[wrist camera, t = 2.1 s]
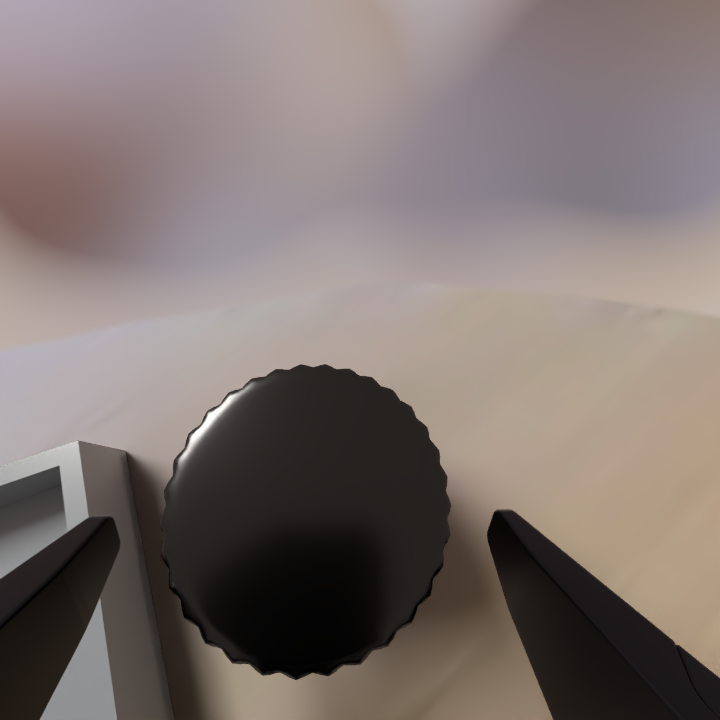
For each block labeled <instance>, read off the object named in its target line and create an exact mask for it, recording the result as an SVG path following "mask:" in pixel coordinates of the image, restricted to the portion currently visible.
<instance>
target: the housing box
mask: <svg viewBox="0 0 720 720" xmlns="http://www.w3.org/2000/svg"><path fill="white" fill-rule="evenodd" d="M94 515H111V516H112V517H114V519H115V523H116V526H117V529H118V533H119V536H120V540H121V545H120V550H119V553H118V555H117V557H116V560H115V562H114V565H113V567H112V570H111V572H110V574H109V577H108V579H107V582H106V584H105V587H104V589H103V591H102V594H101V596H100V599H99V601H98V604H97V606H96V608H95V611H94V613H93V616H92V618H91V620H90V622H89V625H88V627H87V629H86V631H85V633H84V635H83V637H82V639H81V641H80V643H79V645H78V647H77V649H76V651H75V653H74V655H73V657H72V659H71V661H70V663H69V665H68V666H67V668H66V670H65V672H64V674H63V676H62V678H61V680H60V682H59V684H58V686H57V688H56V690H55V691H54V693H53V695H52V697H51V699H50V701H49V703H48V705H47V707H46V709H45V711H44V713H43V715H42V716H41V718H40V720H174V715H173V709H172V704H171V698H170V693H169V687H168V682H167V676H166V671H165V665H164V660H163V654H162V649H161V644H160V638H159V633H158V627H157V622H156V616H155V611H154V605H153V600H152V594H151V589H150V583H149V578H148V572H147V567H146V561H145V556H144V550H143V545H142V539H141V534H140V528H139V523H138V517H137V512H136V506H135V501H134V495H133V490H132V484H131V479H130V473H129V468H128V462H127V457H126V451H124V450H119V449H115V448H110V447H105V446H101V445H96V444H91V443H87V442H82V441H75V442H72V443H69V444H66V445H63V446H60V447H57V448H54V449H51V450H48V451H45V452H42V453H39V454H36V455H33V456H30V457H27V458H24V459H21V460H18V461H15V462H12V463H9V464H6V465H3V466H0V579H1V578H2V577H3V576H5V575H6V574H8V573H9V572H11V571H12V570H13V569H15V568H16V567H18V566H19V565H21V564H22V563H23V562H25V561H26V560H28V559H29V558H31V557H32V556H33V555H35V554H36V553H38V552H39V551H41V550H42V549H43V548H45V547H46V546H48V545H49V544H51V543H52V542H54V541H55V540H56V539H58V538H59V537H61V536H62V535H64V534H65V533H66V532H68V531H69V530H71V529H72V528H74V527H75V526H76V525H78V524H79V523H81V522H82V521H84V520H85V519H87V518H88V517H90V516H94Z"/></svg>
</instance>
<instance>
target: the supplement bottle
mask: <svg viewBox="0 0 720 720" xmlns="http://www.w3.org/2000/svg"><path fill="white" fill-rule="evenodd" d="M446 487H447V475H446V473H445V472H444V470H443V468H442V467H441V465H440V453H439V450H438V448H437V447H436V446H435V445H434V444H433V443H432V441H431V440H430V438H429V432H428V429H427V427H426V426H425V425H424V424H423V423H422V422H421V421H419V420H418V419H417V418H416V416H415V413H414V411H413V409H412V407H411V406H409V405H408V404H406V403H404V402H402V401H400V400H399V398H398V396H397V395H396V393H395V392H394V391H393V390H391V389H389V388H385V387H382V386H380V385H379V384H378V383H377V381H375V380H374V379H373V378H372V377H367V376H359V375H357V374H356V373H355V372H354V371H352V370H351V369H334V368H332V367H331V366H328V365H326V364H325V365H320V366H316V367H310V366H306V365H298V366H296V367H294V368H292V369H290V370H283V369H276V370H274V371H272V372H271V373H270V374H268V375H267V376H266V377H258V378H253V379H251V380H250V381H249V382H248V383H246V385H245V386H244V387H243V388H242V389H239V390H234V391H232V392H229V393H228V394H227V395H226V397H225V398H224V399H223V401H222V403H221V404H220V405H218V406H216V407H213V408H212V409H210V410H208V411H207V413H206V415H205V416H204V418H203V421H202V423H201V425H200V426H198V427H197V428H195V429H194V430H192V431H191V432H190V433H189V434H188V437H187V440H186V444H185V448H184V449H183V450H182V451H181V453H180V454H179V455H178V456H177V457H176V458H175V460H174V463H173V476H172V478H171V479H170V481H169V482H168V484H167V486H166V488H165V490H164V498H165V501H166V507H165V509H164V512H163V514H162V517H161V520H160V526H161V530H162V532H163V534H164V542H163V546H162V552H161V556H162V558H163V560H164V562H165V564H166V565H167V567H168V568H169V588H170V590H171V591H172V592H173V593H174V594H175V595H177V596H178V598H179V599H180V600H181V607H182V612H183V616H184V618H185V619H186V620H188V621H189V622H190V623H192V624H194V625H196V626H198V628H199V630H200V633H201V636H202V638H203V640H204V642H205V644H208V645H210V646H213V647H218V648H221V649H222V650H223V652H224V653H225V655H226V656H227V658H228V659H229V660H230V661H231V662H232V663H234V664H250V665H251V666H252V667H253V668H254V669H255V670H256V671H257V672H259V673H260V674H261V675H263V676H264V675H272V674H274V673H280V672H281V673H282V674H284V675H286V676H288V677H290V678H292V679H295V680H297V679H300V678H302V677H305V676H307V675H309V674H311V673H316V674H319V675H325V676H330V675H331V674H333V673H334V672H336V671H337V670H338V669H339V668H340V667H342V666H343V665H359V664H361V663H362V662H363V661H364V660H365V659H366V658H367V657H368V655H369V654H370V653H371V652H372V651H373V650H377V649H381V648H384V647H387V646H389V644H390V643H391V641H392V640H393V638H394V636H395V634H396V632H397V631H398V630H399V629H401V628H403V627H405V626H407V625H409V624H410V623H412V621H413V619H414V616H415V614H416V611H417V608H418V605H420V604H421V603H422V602H424V601H425V600H426V599H427V598H428V597H429V596H430V594H431V590H432V582H433V578H434V577H435V576H436V575H437V574H438V573H439V571H440V570H441V568H442V567H443V561H444V557H443V549H444V546H445V545H446V543H447V542H448V539H449V537H450V531H449V526H448V521H447V518H448V515H449V513H450V508H451V503H450V500H449V498H448V495H447V493H446Z"/></svg>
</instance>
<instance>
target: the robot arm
mask: <svg viewBox="0 0 720 720" xmlns="http://www.w3.org/2000/svg"><path fill="white" fill-rule="evenodd" d="M487 539H488V544H489V547H490V550H491V553H492V557H493V560H494V563H495V567H496V570H497V573H498V576H499V580H500V583H501V586H502V590H503V593H504V596H505V599H506V602H507V605H508V608H509V611H510V613H511V616H512V619H513V621H514V624H515V626H516V629H517V631H518V634H519V636H520V638H521V641H522V643H523V646H524V648H525V651H526V653H527V656H528V658H529V661H530V663H531V666H532V668H533V671H534V673H535V676H536V678H537V680H538V683H539V685H540V688H541V690H542V693H543V695H544V698H545V700H546V703H547V705H548V708H549V710H550V713H551V715H552V718H553V720H720V678H719V677H718V676H717V675H715V674H714V673H713V672H712V671H710V670H709V669H708V668H707V667H705V666H704V665H703V664H702V663H700V662H699V661H698V660H697V659H695V658H694V657H693V656H692V655H690V654H689V653H688V652H687V651H686V650H684V649H683V648H682V647H681V646H679V645H675V642H674V641H673V640H672V639H671V638H669V637H668V636H667V635H666V634H664V633H663V632H662V631H661V630H660V629H658V628H657V627H656V626H655V625H653V624H652V623H651V622H650V621H648V620H647V619H646V618H645V617H644V616H642V615H641V614H640V613H639V612H637V611H636V610H635V609H634V608H633V607H631V606H630V605H629V604H628V603H626V602H625V601H624V600H623V599H621V598H620V597H619V596H618V595H617V594H615V593H614V592H613V591H612V590H610V589H609V588H608V587H607V586H605V585H604V584H603V583H602V582H601V581H599V580H598V579H597V578H596V577H594V576H593V575H592V574H591V573H589V572H588V571H587V570H586V569H585V568H583V567H582V566H581V565H580V564H578V563H577V562H576V561H575V560H574V559H572V558H571V557H570V556H569V555H567V554H566V553H565V552H564V551H562V550H561V549H560V548H559V547H558V546H556V545H555V544H554V543H553V542H551V541H550V540H549V539H548V538H546V537H545V536H544V535H543V534H542V533H540V532H539V531H538V530H537V529H535V528H534V527H533V526H532V525H531V524H529V523H528V522H527V521H526V520H524V519H523V518H522V517H521V516H519V515H518V514H517V513H516V512H514V511H513V510H509V509H502V510H496V511H495V512H494V514H493V517H492V520H491V523H490V526H489V529H488V532H487ZM120 545H121V540H120V536H119V533H118V529H117V526H116V523H115V519H114V517H112V516H111V515H94V516H90V517H88V518H87V519H85V520H84V521H82V522H81V523H79V524H78V525H76V526H75V527H74V528H72V529H71V530H69V531H68V532H66V533H65V534H64V535H62V536H61V537H59V538H58V539H56V540H55V541H54V542H52V543H51V544H49V545H48V546H46V547H45V548H43V549H42V550H41V551H39V552H38V553H36V554H35V555H33V556H32V557H31V558H29V559H28V560H26V561H25V562H23V563H22V564H21V565H19V566H18V567H16V568H15V569H13V570H12V571H11V572H9V573H8V574H6V575H5V576H3V577H2V578H1V579H0V720H40V718H41V716H42V715H43V713H44V711H45V709H46V707H47V705H48V703H49V701H50V699H51V697H52V695H53V693H54V691H55V690H56V688H57V686H58V684H59V682H60V680H61V678H62V676H63V674H64V672H65V670H66V668H67V666H68V665H69V663H70V661H71V659H72V657H73V655H74V653H75V651H76V649H77V647H78V645H79V643H80V641H81V639H82V637H83V635H84V633H85V631H86V629H87V627H88V625H89V622H90V620H91V618H92V616H93V613H94V611H95V608H96V606H97V604H98V601H99V599H100V596H101V594H102V591H103V589H104V587H105V584H106V582H107V579H108V577H109V574H110V572H111V570H112V567H113V565H114V562H115V560H116V557H117V555H118V553H119V550H120Z"/></svg>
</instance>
